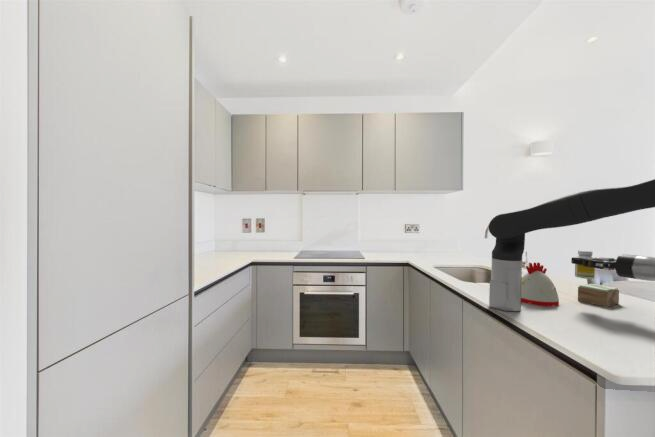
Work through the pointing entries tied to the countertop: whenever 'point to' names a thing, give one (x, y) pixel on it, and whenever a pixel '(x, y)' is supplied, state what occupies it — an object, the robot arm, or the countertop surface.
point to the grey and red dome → (538, 287)
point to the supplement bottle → (584, 271)
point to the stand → (598, 294)
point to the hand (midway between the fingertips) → (576, 260)
